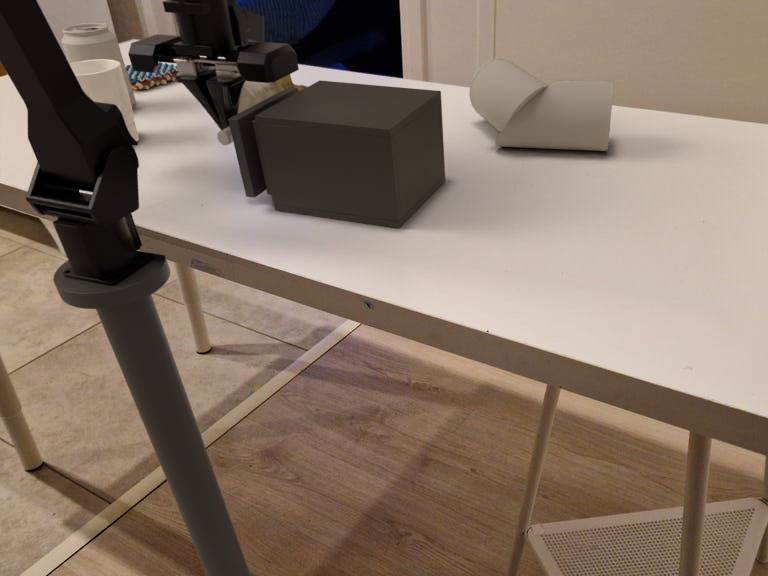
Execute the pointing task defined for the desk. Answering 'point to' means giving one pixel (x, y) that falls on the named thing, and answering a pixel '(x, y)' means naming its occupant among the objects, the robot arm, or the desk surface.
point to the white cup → (106, 86)
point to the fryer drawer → (251, 143)
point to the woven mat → (152, 76)
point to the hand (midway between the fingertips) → (230, 134)
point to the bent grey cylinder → (542, 108)
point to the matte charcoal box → (354, 151)
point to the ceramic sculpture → (263, 91)
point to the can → (93, 46)
